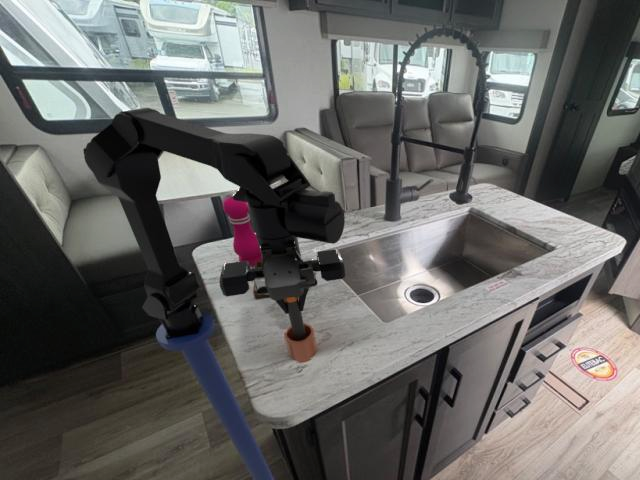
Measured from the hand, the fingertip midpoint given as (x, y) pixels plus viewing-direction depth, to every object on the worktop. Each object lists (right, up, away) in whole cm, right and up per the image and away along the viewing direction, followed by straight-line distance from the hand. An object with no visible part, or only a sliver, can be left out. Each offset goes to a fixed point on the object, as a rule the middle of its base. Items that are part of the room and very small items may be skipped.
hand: (294, 311), depth 58 cm
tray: (-13, +7, +26) cm, 30 cm away
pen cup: (0, -9, +7) cm, 11 cm away
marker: (0, -5, +4) cm, 6 cm away
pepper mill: (-23, +13, +34) cm, 43 cm away
